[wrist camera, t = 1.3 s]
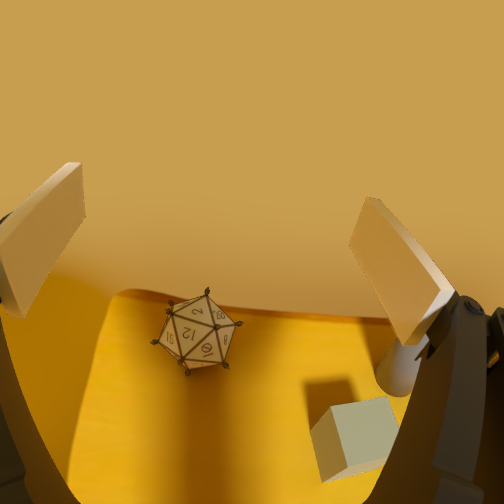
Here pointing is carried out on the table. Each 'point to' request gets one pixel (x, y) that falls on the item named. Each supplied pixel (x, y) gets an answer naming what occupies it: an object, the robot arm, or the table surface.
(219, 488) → the table surface
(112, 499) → the table surface
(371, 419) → the olive block
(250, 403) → the table surface
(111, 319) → the table surface
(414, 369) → the gray cylinder
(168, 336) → the game die
